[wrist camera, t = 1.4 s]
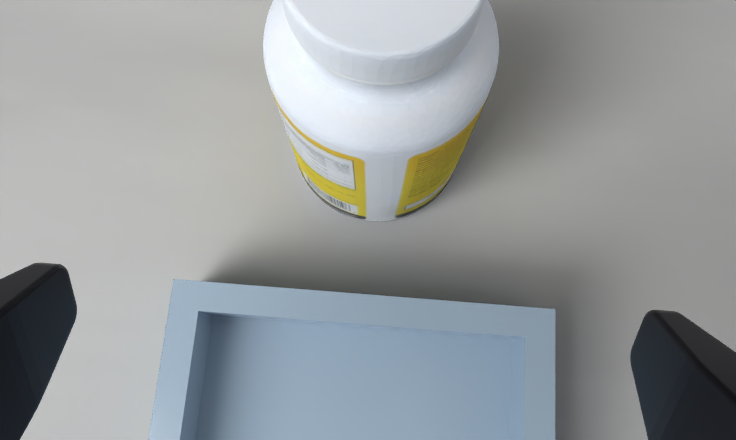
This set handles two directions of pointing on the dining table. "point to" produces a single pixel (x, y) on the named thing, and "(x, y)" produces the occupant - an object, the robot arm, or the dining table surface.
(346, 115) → the pill bottle
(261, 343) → the dish
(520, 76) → the dining table surface
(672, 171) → the dining table surface
